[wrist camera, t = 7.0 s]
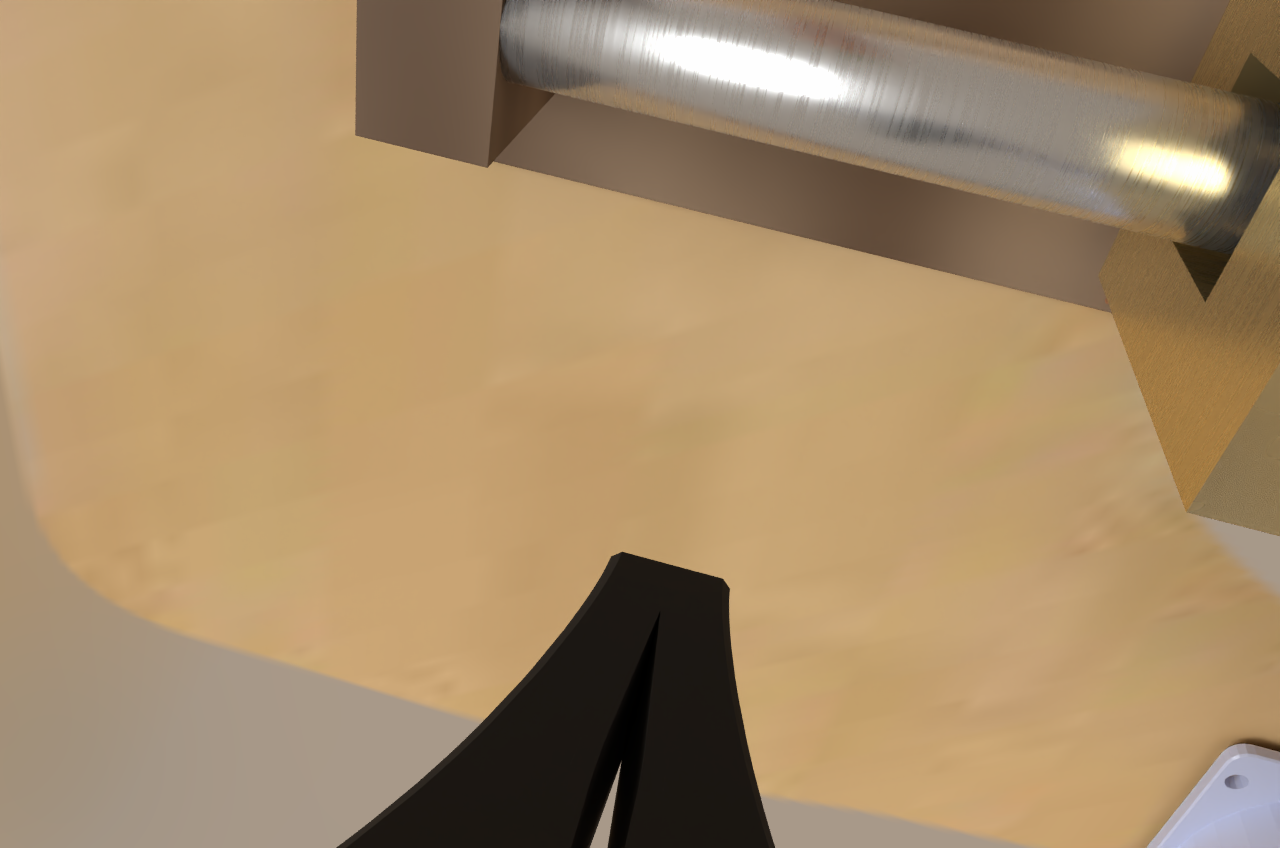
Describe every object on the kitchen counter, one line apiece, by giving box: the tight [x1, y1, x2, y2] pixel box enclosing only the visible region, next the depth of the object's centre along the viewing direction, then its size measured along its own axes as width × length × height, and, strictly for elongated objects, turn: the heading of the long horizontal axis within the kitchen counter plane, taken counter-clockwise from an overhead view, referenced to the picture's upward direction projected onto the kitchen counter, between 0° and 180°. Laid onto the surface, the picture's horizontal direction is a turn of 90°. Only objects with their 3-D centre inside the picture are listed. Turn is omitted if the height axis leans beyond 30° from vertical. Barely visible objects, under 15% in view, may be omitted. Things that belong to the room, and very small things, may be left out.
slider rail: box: [355, 0, 1230, 313], centre depth 16 cm, size 18×8×6 cm, turn 80°
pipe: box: [499, 0, 1280, 255], centre depth 14 cm, size 18×2×2 cm, turn 80°
